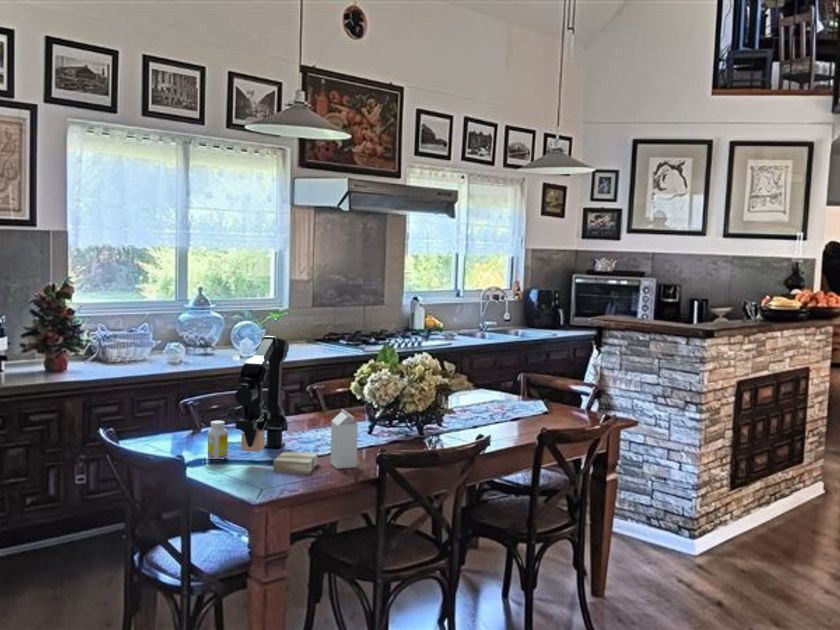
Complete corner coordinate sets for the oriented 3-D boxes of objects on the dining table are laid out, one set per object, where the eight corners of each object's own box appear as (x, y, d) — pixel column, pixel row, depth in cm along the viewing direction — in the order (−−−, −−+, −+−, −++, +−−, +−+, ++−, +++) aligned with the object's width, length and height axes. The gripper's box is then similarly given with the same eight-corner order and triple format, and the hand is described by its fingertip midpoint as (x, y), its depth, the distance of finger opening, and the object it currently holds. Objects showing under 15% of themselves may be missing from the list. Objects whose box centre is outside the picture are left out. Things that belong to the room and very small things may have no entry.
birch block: (283, 462, 280) (283, 451, 280) (317, 464, 279) (317, 453, 279) (273, 472, 269) (273, 460, 268) (308, 475, 267) (308, 463, 267)
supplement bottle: (229, 455, 285) (229, 419, 283) (225, 461, 278) (225, 424, 277) (209, 455, 284) (210, 419, 283) (205, 460, 278) (205, 423, 277)
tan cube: (247, 446, 278) (247, 429, 278) (264, 447, 278) (264, 430, 277) (241, 450, 272) (241, 433, 272) (258, 451, 272) (258, 434, 271)
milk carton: (336, 469, 273) (338, 413, 271) (330, 463, 280) (331, 409, 278) (356, 467, 276) (358, 412, 274) (350, 461, 282) (351, 408, 281)
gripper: (240, 392, 283) (239, 436, 285) (220, 403, 265) (219, 450, 267) (271, 394, 282) (270, 438, 284) (253, 405, 264) (252, 452, 265)
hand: (253, 444), depth 275 cm, fingers closed on tan cube, 6 cm apart
